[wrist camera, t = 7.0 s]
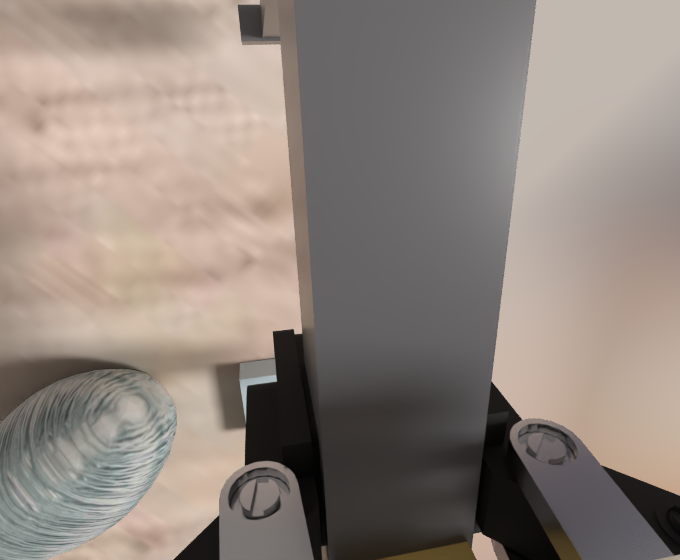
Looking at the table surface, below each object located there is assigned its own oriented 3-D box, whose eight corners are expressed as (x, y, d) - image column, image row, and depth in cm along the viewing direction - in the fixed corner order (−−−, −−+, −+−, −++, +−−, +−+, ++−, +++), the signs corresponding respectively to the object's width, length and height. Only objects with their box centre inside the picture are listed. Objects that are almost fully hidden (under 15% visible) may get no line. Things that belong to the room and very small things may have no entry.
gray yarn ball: (65, 557, 31) (-40, 661, 21) (-16, 452, 31) (-156, 507, 22) (220, 430, 33) (191, 471, 23) (144, 332, 34) (84, 333, 24)
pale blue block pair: (-113, 483, 30) (-136, 509, 28) (-157, 415, 27) (-185, 438, 25) (287, 421, 34) (290, 439, 32) (281, 357, 32) (283, 373, 30)
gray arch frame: (238, 10, 17) (158, -438, 3) (348, 9, 18) (705, -356, 4) (282, 430, 25) (317, 852, 11) (357, 419, 26) (481, 802, 12)
